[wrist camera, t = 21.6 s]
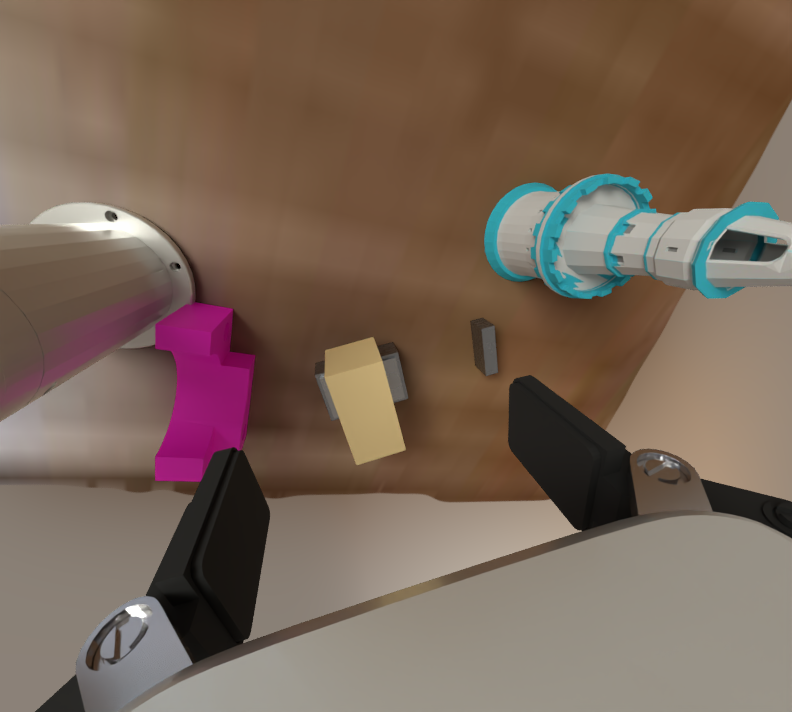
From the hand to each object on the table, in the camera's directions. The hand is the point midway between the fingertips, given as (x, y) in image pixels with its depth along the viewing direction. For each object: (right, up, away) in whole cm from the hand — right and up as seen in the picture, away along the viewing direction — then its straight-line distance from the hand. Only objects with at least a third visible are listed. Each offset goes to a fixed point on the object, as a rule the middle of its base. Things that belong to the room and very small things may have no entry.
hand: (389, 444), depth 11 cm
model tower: (+14, +16, +23) cm, 32 cm away
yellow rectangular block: (-3, 0, +23) cm, 23 cm away
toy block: (-19, +1, +23) cm, 30 cm away
